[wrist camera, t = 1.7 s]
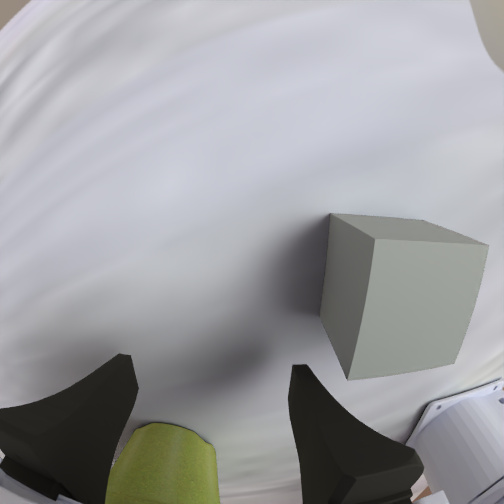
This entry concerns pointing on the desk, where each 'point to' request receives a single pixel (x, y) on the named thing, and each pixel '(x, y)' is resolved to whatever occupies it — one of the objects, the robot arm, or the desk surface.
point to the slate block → (397, 293)
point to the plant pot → (164, 468)
